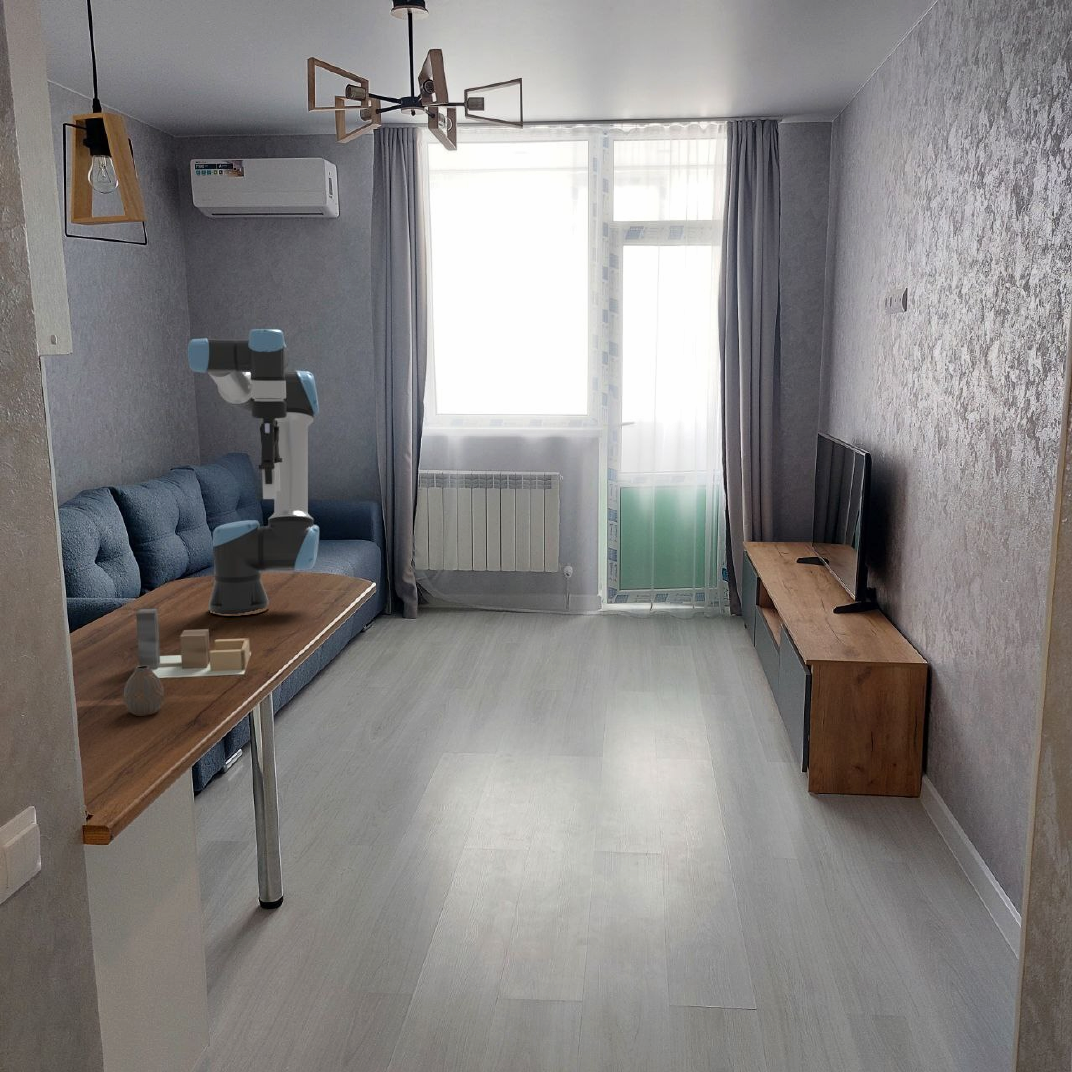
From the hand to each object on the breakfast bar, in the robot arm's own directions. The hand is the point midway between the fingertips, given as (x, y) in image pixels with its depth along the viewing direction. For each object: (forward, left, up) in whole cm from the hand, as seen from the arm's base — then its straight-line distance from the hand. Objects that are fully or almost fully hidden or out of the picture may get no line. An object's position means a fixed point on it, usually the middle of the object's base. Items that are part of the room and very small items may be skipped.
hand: (272, 495), depth 226 cm
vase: (+44, -21, -35) cm, 60 cm away
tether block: (+18, -20, -34) cm, 43 cm away
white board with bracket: (+18, -16, -35) cm, 42 cm away
